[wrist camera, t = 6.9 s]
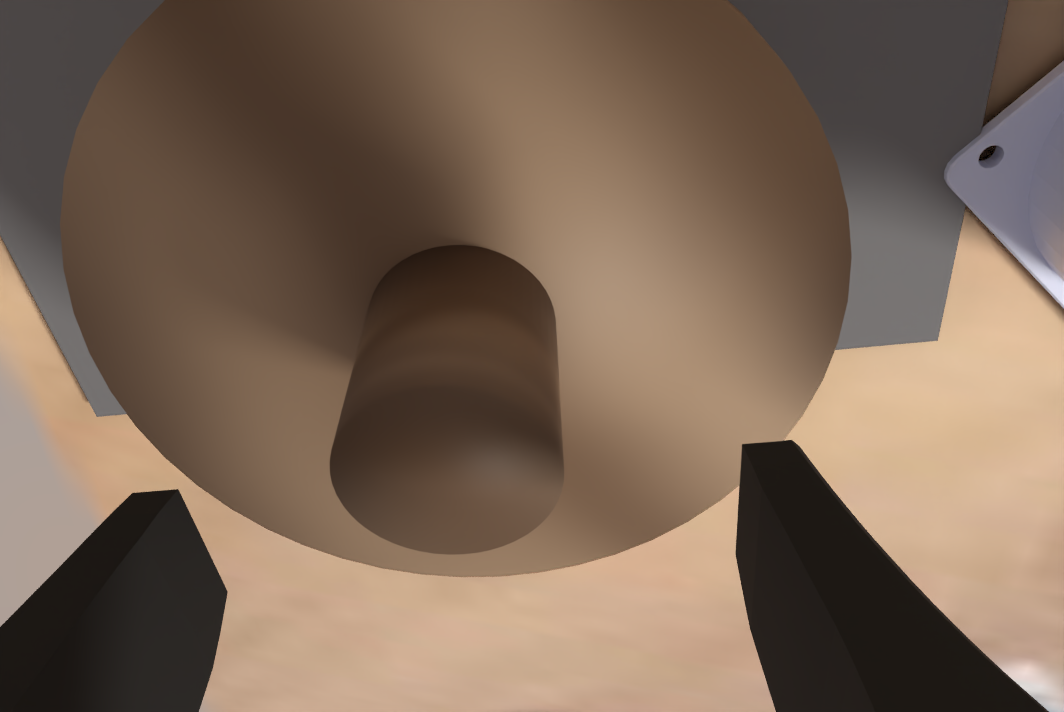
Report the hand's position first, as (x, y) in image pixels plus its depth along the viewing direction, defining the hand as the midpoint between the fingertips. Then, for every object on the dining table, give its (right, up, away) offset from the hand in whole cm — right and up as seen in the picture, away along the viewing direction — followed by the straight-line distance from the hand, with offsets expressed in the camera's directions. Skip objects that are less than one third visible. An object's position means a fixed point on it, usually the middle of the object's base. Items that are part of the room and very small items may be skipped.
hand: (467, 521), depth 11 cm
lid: (0, +3, +4) cm, 5 cm away
